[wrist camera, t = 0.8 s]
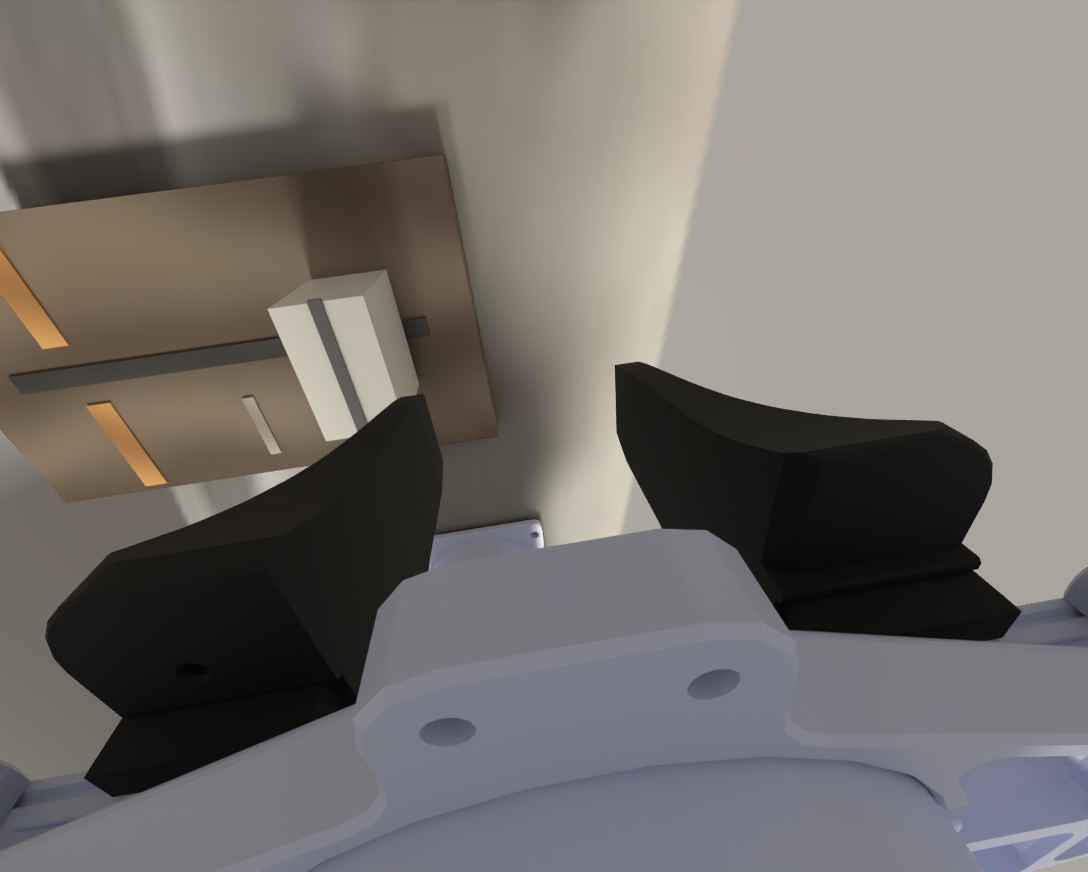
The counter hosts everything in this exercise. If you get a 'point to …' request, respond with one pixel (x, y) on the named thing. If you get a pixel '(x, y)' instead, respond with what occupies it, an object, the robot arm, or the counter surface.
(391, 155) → the counter surface
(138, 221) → the fader console
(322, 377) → the fader knob
